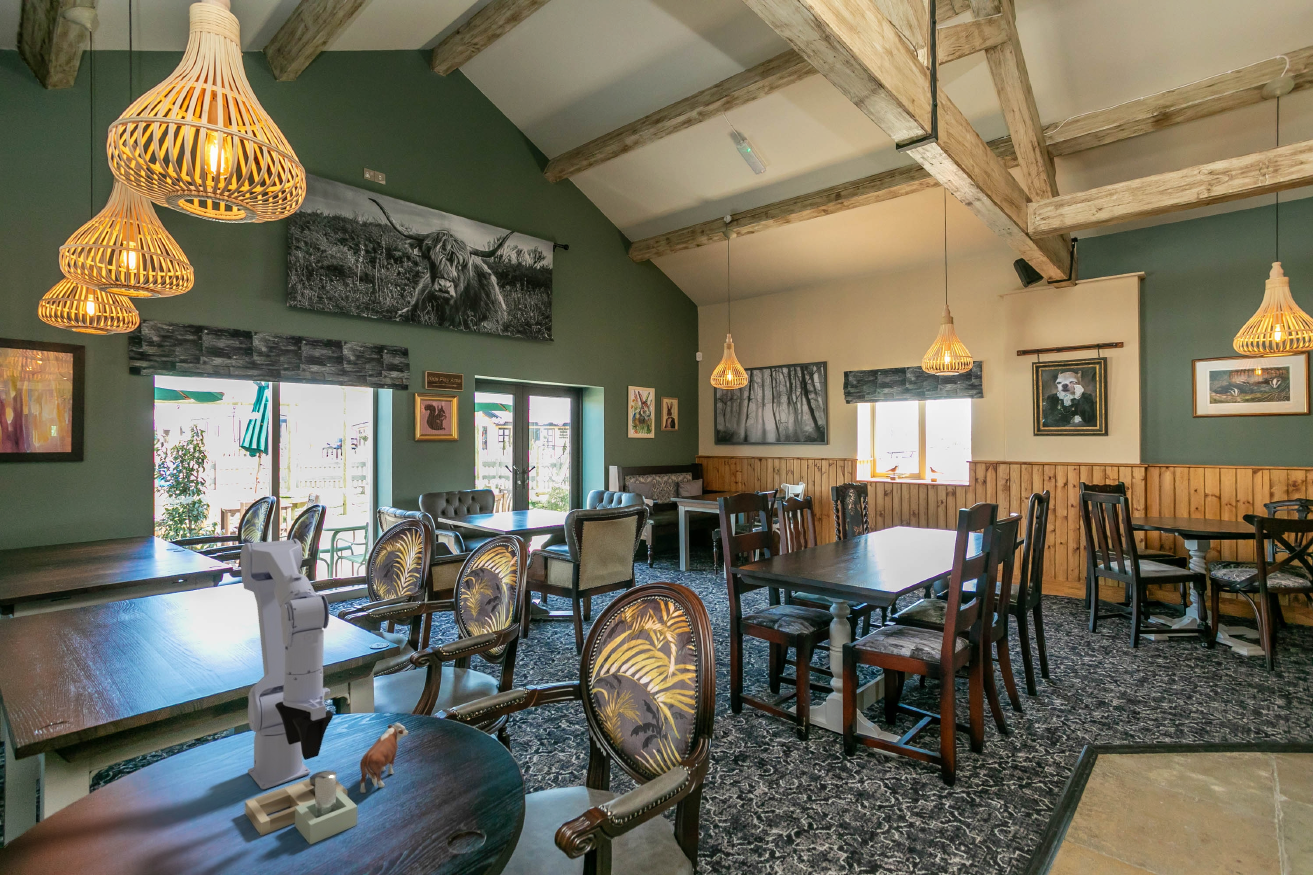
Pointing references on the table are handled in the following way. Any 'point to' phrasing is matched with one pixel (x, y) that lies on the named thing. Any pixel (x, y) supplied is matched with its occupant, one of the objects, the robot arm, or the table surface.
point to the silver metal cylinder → (325, 793)
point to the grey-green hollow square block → (325, 819)
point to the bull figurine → (381, 755)
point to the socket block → (280, 806)
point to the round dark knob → (312, 780)
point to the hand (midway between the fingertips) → (303, 749)
